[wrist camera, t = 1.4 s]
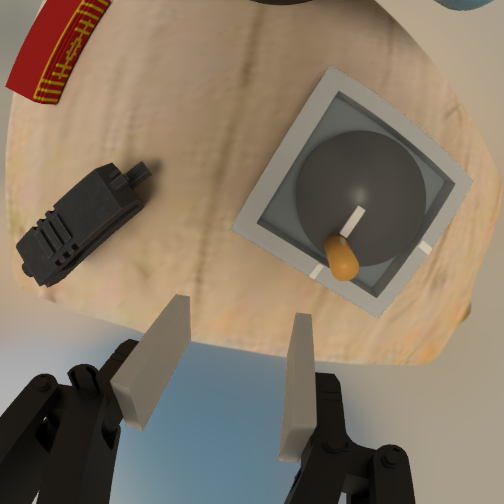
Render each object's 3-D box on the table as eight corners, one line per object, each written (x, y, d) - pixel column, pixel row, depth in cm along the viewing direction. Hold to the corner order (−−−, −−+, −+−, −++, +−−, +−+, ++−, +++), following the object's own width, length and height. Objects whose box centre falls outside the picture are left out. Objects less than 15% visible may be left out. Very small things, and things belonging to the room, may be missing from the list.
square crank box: (325, 76, 27) (330, 64, 22) (455, 176, 28) (474, 180, 23) (237, 219, 34) (229, 229, 29) (369, 300, 35) (378, 319, 30)
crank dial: (339, 106, 26) (356, 90, 18) (437, 182, 26) (477, 195, 19) (271, 215, 31) (263, 238, 23) (371, 279, 31) (391, 317, 24)
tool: (53, 247, 36) (2, 254, 22) (144, 168, 39) (126, 136, 25) (74, 278, 37) (29, 299, 23) (167, 200, 40) (159, 182, 26)
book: (59, 104, 31) (37, 103, 27) (24, 87, 31) (5, 86, 26) (113, 3, 25) (95, -8, 20) (69, -1, 24) (52, -9, 20)
